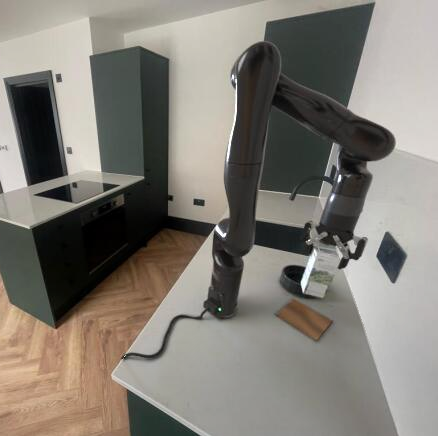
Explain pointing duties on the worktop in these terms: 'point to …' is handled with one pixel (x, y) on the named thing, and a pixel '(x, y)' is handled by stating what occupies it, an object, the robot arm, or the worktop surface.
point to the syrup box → (320, 271)
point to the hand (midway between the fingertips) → (323, 261)
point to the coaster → (304, 319)
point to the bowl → (293, 280)
